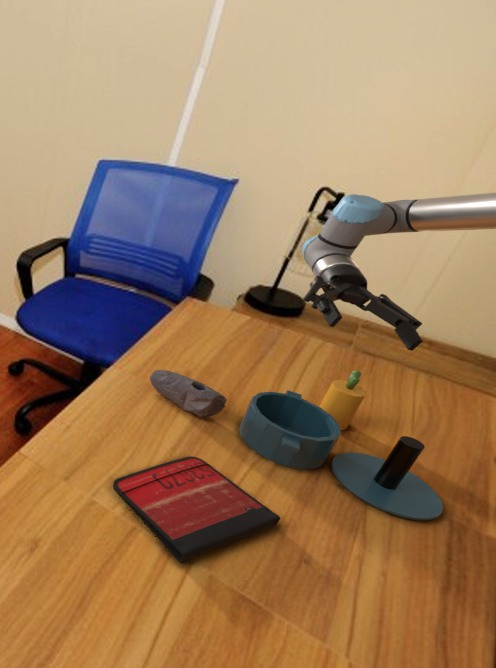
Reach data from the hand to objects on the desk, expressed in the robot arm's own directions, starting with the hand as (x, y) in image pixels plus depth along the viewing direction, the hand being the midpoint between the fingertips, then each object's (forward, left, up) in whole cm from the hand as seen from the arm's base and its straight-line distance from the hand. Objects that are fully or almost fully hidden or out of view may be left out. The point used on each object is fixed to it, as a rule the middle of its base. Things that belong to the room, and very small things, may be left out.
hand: (375, 333), depth 100 cm
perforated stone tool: (+27, +18, -20) cm, 38 cm away
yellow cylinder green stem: (+1, +5, -20) cm, 20 cm away
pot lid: (-6, +21, -19) cm, 29 cm away
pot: (+9, +19, -20) cm, 29 cm away
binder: (+21, +47, -20) cm, 55 cm away
